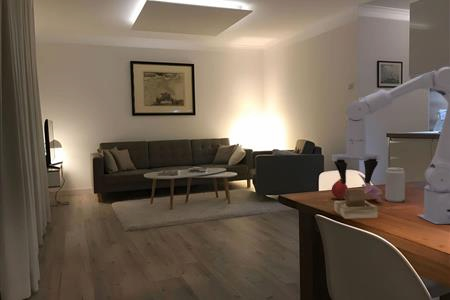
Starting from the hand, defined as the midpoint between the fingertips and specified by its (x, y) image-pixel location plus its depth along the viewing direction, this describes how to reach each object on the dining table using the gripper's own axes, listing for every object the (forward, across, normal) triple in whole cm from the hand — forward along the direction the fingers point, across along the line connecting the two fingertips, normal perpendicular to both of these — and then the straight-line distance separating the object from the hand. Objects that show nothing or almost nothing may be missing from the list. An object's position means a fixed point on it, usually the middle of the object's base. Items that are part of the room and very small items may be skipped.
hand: (355, 183), depth 117 cm
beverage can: (+10, -21, -18) cm, 29 cm away
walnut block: (+7, 0, 0) cm, 7 cm away
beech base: (+10, 0, 0) cm, 10 cm away
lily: (+10, -12, -17) cm, 23 cm away
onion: (+10, -2, -22) cm, 24 cm away
